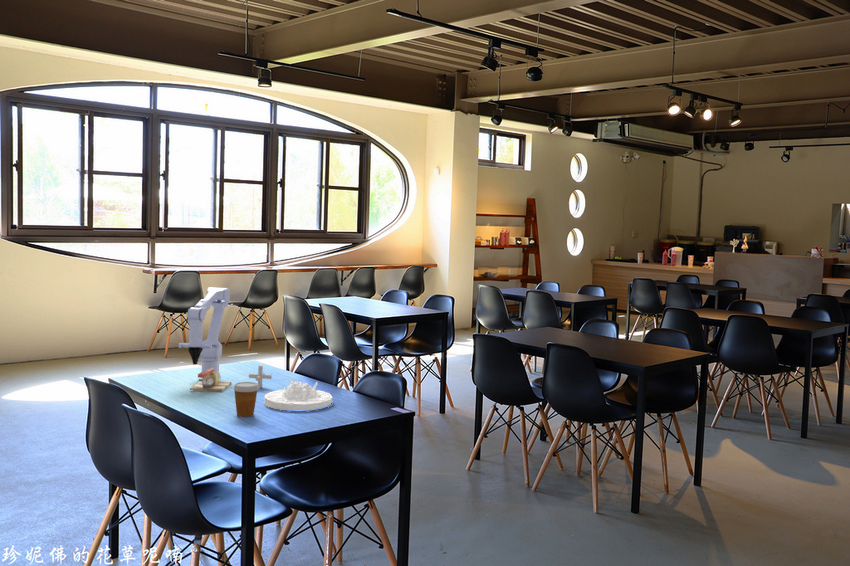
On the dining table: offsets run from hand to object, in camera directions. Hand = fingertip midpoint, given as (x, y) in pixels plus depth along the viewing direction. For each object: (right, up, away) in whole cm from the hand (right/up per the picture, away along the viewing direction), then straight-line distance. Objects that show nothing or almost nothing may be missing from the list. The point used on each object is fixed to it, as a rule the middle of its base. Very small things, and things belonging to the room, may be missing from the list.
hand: (195, 364), depth 319 cm
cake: (+51, -14, -23) cm, 58 cm away
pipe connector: (+28, -11, +3) cm, 31 cm away
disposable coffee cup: (+34, -15, -46) cm, 59 cm away
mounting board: (+8, -10, -1) cm, 13 cm away
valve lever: (+8, -3, -8) cm, 12 cm away
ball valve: (+8, -10, -1) cm, 13 cm away
